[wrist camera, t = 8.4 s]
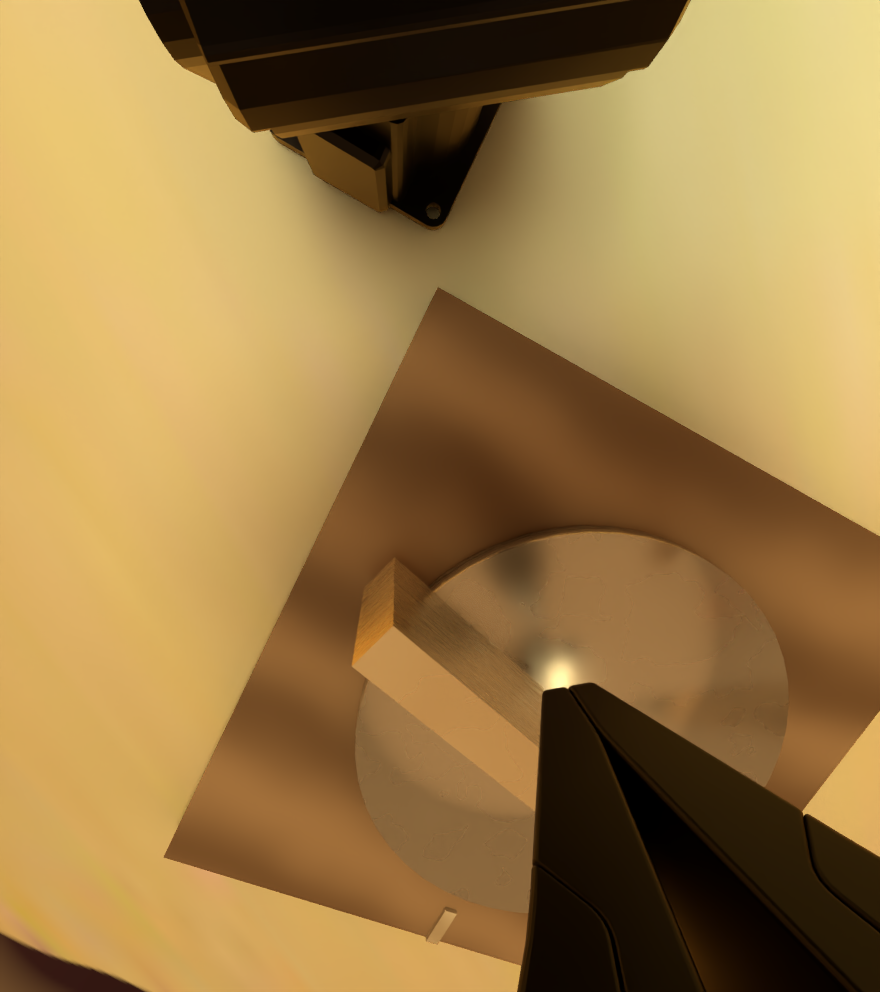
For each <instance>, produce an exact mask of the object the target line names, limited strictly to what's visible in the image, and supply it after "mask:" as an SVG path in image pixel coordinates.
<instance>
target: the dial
mask: <svg viewBox="0 0 880 992" xmlns="http://www.w3.org/2000/svg"><path fill="white" fill-rule="evenodd" d="M352 667H353V668H354V669H355V670H357V671H358V672H359V673H361V674H362V675H363V676H364V677H366V680H365V683H364V686H363V689H362V693H361V699H360V704H359V710H358V716H357V724H356V736H355V761H356V769H357V776H358V783H359V786H360V789H361V793H362V796H363V799H364V803H365V806H366V808H367V810H368V812H369V814H370V816H371V818H372V820H373V822H374V824H375V827H376V828H377V830H378V831H379V832H380V834H381V835H382V837H383V838H384V840H385V841H386V843H387V844H388V846H389V847H390V848H391V849H392V850H393V851H394V852H395V853H396V854H397V855H398V856H399V858H400V859H401V860H402V861H403V862H404V863H405V864H406V865H407V866H409V867H410V868H411V869H412V870H414V871H415V872H416V873H417V874H419V875H420V876H421V877H422V878H424V879H425V880H427V881H429V882H430V883H432V884H434V885H435V886H437V887H439V888H440V889H442V890H444V891H446V892H448V893H450V894H452V895H455V896H457V897H459V898H462V899H464V900H466V901H469V902H472V903H476V904H479V905H482V906H486V907H489V908H494V909H500V910H505V911H511V912H519V913H528V910H529V900H530V884H531V869H532V856H533V839H534V822H535V805H536V788H537V771H538V754H539V736H540V719H541V702H542V693H543V691H544V690H548V689H554V688H559V687H566V688H569V687H570V686H571V685H577V684H582V683H588V682H592V683H595V684H597V685H599V686H600V687H602V688H603V689H605V690H607V691H608V692H610V693H612V694H613V695H615V696H616V697H618V698H620V699H621V700H623V701H625V702H626V703H628V704H629V705H631V706H633V707H634V708H636V709H638V710H639V711H641V712H642V713H644V714H646V715H647V716H649V717H651V718H652V719H654V720H656V721H657V722H659V723H660V724H662V725H664V726H665V727H667V728H669V729H670V730H672V731H673V732H675V733H677V734H678V735H680V736H682V737H683V738H685V739H686V740H688V741H690V742H691V743H693V744H695V745H696V746H698V747H700V748H701V749H703V750H704V751H706V752H708V753H709V754H711V755H713V756H714V757H716V758H717V759H719V760H721V761H722V762H724V763H726V764H727V765H729V766H730V767H732V768H734V769H735V770H737V771H739V772H740V773H742V774H743V775H745V776H747V777H748V778H750V779H752V780H753V781H755V782H757V783H758V784H760V785H761V786H763V787H765V786H766V784H767V782H768V781H769V779H770V777H771V775H772V772H773V770H774V767H775V765H776V762H777V760H778V757H779V755H780V751H781V747H782V744H783V740H784V736H785V732H786V726H787V717H788V708H789V697H788V679H787V674H786V668H785V663H784V658H783V655H782V652H781V649H780V646H779V644H778V641H777V638H776V635H775V633H774V631H773V630H772V628H771V626H770V624H769V622H768V620H767V619H766V617H765V615H764V613H763V612H762V611H761V609H760V608H759V607H758V606H757V604H756V603H755V602H754V600H753V599H752V598H751V597H750V595H749V594H748V593H747V592H746V591H745V590H744V589H743V588H742V587H741V586H740V585H739V584H737V583H736V582H735V581H734V580H733V579H732V578H731V577H730V576H729V575H727V574H726V573H724V572H723V571H721V570H720V569H719V568H717V567H716V566H714V565H713V564H711V563H710V562H708V561H707V560H705V559H704V558H702V557H700V556H699V555H697V554H695V553H694V552H692V551H690V550H688V549H686V548H684V547H682V546H680V545H678V544H676V543H674V542H672V541H669V540H667V539H664V538H661V537H658V536H655V535H651V534H648V533H645V532H642V531H637V530H631V529H625V528H619V527H613V526H586V525H582V526H571V527H560V528H551V529H547V530H542V531H538V532H533V533H529V534H524V535H521V536H518V537H515V538H513V539H510V540H507V541H504V542H501V543H498V544H496V545H493V546H491V547H489V548H487V549H485V550H483V551H481V552H479V553H477V554H475V555H473V556H471V557H469V558H467V559H465V560H464V561H462V562H461V563H459V564H458V565H456V566H455V567H453V568H452V569H450V570H449V571H447V572H446V573H444V574H443V575H441V576H440V577H439V578H438V579H437V580H435V581H434V582H433V583H432V584H431V585H430V586H427V585H426V584H425V583H423V582H422V581H421V580H420V579H419V578H418V577H417V576H416V575H414V574H413V573H412V572H411V571H410V570H409V569H408V568H406V567H405V566H404V565H403V564H402V563H401V562H400V561H398V560H397V559H396V558H395V557H394V558H393V559H392V560H391V561H390V562H389V563H388V564H387V565H386V566H385V567H384V568H383V569H382V570H381V571H380V572H379V573H378V574H377V575H376V576H375V577H374V578H373V579H372V580H371V581H370V582H369V583H368V584H367V585H366V586H365V587H364V591H363V598H362V604H361V610H360V617H359V623H358V629H357V635H356V642H355V648H354V654H353V661H352Z"/></svg>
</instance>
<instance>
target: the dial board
mask: <svg viewBox="0 0 880 992" xmlns="http://www.w3.org/2000/svg"><path fill="white" fill-rule="evenodd" d="M582 525H586V526H613V527H619V528H625V529H631V530H637V531H642V532H645V533H648V534H651V535H655V536H658V537H661V538H664V539H667V540H669V541H672V542H674V543H676V544H678V545H680V546H682V547H684V548H686V549H688V550H690V551H692V552H694V553H695V554H697V555H699V556H700V557H702V558H704V559H705V560H707V561H708V562H710V563H711V564H713V565H714V566H716V567H717V568H719V569H720V570H721V571H723V572H724V573H726V574H727V575H729V576H730V577H731V578H732V579H733V580H734V581H735V582H736V583H737V584H739V585H740V586H741V587H742V588H743V589H744V590H745V591H746V592H747V593H748V594H749V595H750V597H751V598H752V599H753V600H754V602H755V603H756V604H757V606H758V607H759V608H760V609H761V611H762V612H763V613H764V615H765V617H766V619H767V620H768V622H769V624H770V626H771V628H772V630H773V631H774V633H775V635H776V638H777V641H778V644H779V646H780V649H781V652H782V655H783V658H784V663H785V668H786V674H787V679H788V697H789V708H788V717H787V726H786V732H785V736H784V740H783V744H782V747H781V751H780V755H779V757H778V760H777V762H776V765H775V767H774V770H773V772H772V775H771V777H770V779H769V781H768V782H767V784H766V786H765V788H766V789H768V790H770V791H771V792H773V793H774V794H776V795H778V796H779V797H781V798H783V799H784V800H786V801H787V802H789V803H791V804H792V805H794V806H796V807H797V808H799V809H800V810H801V811H803V809H804V808H805V807H806V805H807V804H808V803H809V802H810V800H811V799H812V798H813V796H814V795H815V794H816V792H817V791H818V790H819V789H820V787H821V786H822V785H823V783H824V782H825V781H826V780H827V778H828V777H829V776H830V774H831V773H832V772H833V770H834V769H835V768H836V767H837V765H838V764H839V763H840V761H841V760H842V759H843V758H844V756H845V755H846V754H847V752H848V751H849V750H850V748H851V747H852V746H853V745H854V743H855V742H856V741H857V739H858V738H859V737H860V735H861V734H862V733H863V732H864V730H865V729H866V728H867V726H868V725H869V724H870V723H871V721H872V720H873V719H874V717H875V716H876V715H877V713H878V712H879V711H880V537H879V536H878V535H876V534H874V533H872V532H870V531H869V530H867V529H865V528H863V527H862V526H860V525H858V524H856V523H855V522H853V521H851V520H849V519H847V518H846V517H844V516H842V515H840V514H839V513H837V512H835V511H833V510H832V509H830V508H828V507H826V506H824V505H823V504H821V503H819V502H817V501H816V500H814V499H812V498H810V497H808V496H807V495H805V494H803V493H801V492H800V491H798V490H796V489H794V488H793V487H791V486H789V485H787V484H785V483H784V482H782V481H780V480H778V479H777V478H775V477H773V476H771V475H770V474H768V473H766V472H764V471H762V470H761V469H759V468H757V467H755V466H754V465H752V464H750V463H748V462H746V461H745V460H743V459H741V458H739V457H738V456H736V455H734V454H732V453H731V452H729V451H727V450H725V449H723V448H722V447H720V446H718V445H716V444H715V443H713V442H711V441H709V440H708V439H706V438H704V437H702V436H700V435H699V434H697V433H695V432H693V431H692V430H690V429H688V428H686V427H685V426H683V425H681V424H679V423H677V422H676V421H674V420H672V419H670V418H669V417H667V416H665V415H663V414H661V413H660V412H658V411H656V410H654V409H653V408H651V407H649V406H647V405H646V404H644V403H642V402H640V401H638V400H637V399H635V398H633V397H631V396H630V395H628V394H626V393H624V392H623V391H621V390H619V389H617V388H615V387H614V386H612V385H610V384H608V383H607V382H605V381H603V380H601V379H599V378H598V377H596V376H594V375H592V374H591V373H589V372H587V371H585V370H584V369H582V368H580V367H578V366H576V365H575V364H573V363H571V362H569V361H568V360H566V359H564V358H562V357H561V356H559V355H557V354H555V353H553V352H552V351H550V350H548V349H546V348H545V347H543V346H541V345H539V344H538V343H536V342H534V341H532V340H530V339H529V338H527V337H525V336H523V335H522V334H520V333H518V332H516V331H514V330H513V329H511V328H509V327H507V326H506V325H504V324H502V323H500V322H499V321H497V320H495V319H493V318H491V317H490V316H488V315H486V314H484V313H483V312H481V311H479V310H477V309H476V308H474V307H472V306H470V305H468V304H467V303H465V302H463V301H461V300H460V299H458V298H456V297H454V296H452V295H451V294H449V293H447V292H445V291H444V290H442V289H440V288H437V290H436V292H435V294H434V296H433V298H432V300H431V303H430V305H429V307H428V309H427V311H426V313H425V315H424V317H423V319H422V321H421V323H420V325H419V327H418V330H417V332H416V334H415V336H414V338H413V340H412V342H411V344H410V346H409V348H408V350H407V352H406V354H405V357H404V359H403V361H402V363H401V365H400V367H399V369H398V371H397V373H396V375H395V377H394V379H393V381H392V384H391V386H390V388H389V390H388V392H387V394H386V396H385V398H384V400H383V402H382V404H381V406H380V408H379V411H378V413H377V415H376V417H375V419H374V421H373V423H372V425H371V427H370V429H369V431H368V433H367V436H366V438H365V440H364V442H363V444H362V446H361V448H360V450H359V452H358V454H357V456H356V458H355V460H354V463H353V465H352V467H351V469H350V471H349V473H348V475H347V477H346V479H345V481H344V483H343V485H342V487H341V490H340V492H339V494H338V496H337V498H336V500H335V502H334V504H333V506H332V508H331V510H330V512H329V514H328V517H327V519H326V521H325V523H324V525H323V527H322V529H321V531H320V533H319V535H318V537H317V539H316V541H315V544H314V546H313V548H312V550H311V552H310V554H309V556H308V558H307V560H306V562H305V564H304V566H303V568H302V571H301V573H300V575H299V577H298V579H297V581H296V583H295V585H294V587H293V589H292V591H291V593H290V596H289V598H288V600H287V602H286V604H285V606H284V608H283V610H282V612H281V614H280V616H279V618H278V620H277V623H276V625H275V627H274V629H273V631H272V633H271V635H270V637H269V639H268V641H267V643H266V645H265V647H264V650H263V652H262V654H261V656H260V658H259V660H258V662H257V664H256V666H255V668H254V670H253V672H252V674H251V677H250V679H249V681H248V683H247V685H246V687H245V689H244V691H243V693H242V695H241V697H240V699H239V701H238V704H237V706H236V708H235V710H234V712H233V714H232V716H231V718H230V720H229V722H228V724H227V726H226V728H225V731H224V733H223V735H222V737H221V739H220V741H219V743H218V745H217V747H216V749H215V751H214V753H213V756H212V758H211V760H210V762H209V764H208V766H207V768H206V770H205V772H204V774H203V776H202V778H201V780H200V783H199V785H198V787H197V789H196V791H195V793H194V795H193V797H192V799H191V801H190V803H189V805H188V807H187V810H186V812H185V814H184V816H183V818H182V820H181V822H180V824H179V826H178V828H177V830H176V832H175V834H174V837H173V839H172V841H171V843H170V845H169V847H168V849H167V851H166V853H165V855H164V858H168V859H171V860H174V861H177V862H181V863H184V864H187V865H191V866H194V867H197V868H201V869H204V870H207V871H210V872H214V873H217V874H220V875H224V876H227V877H230V878H234V879H237V880H240V881H243V882H247V883H250V884H253V885H257V886H260V887H263V888H267V889H270V890H273V891H276V892H280V893H283V894H286V895H290V896H293V897H296V898H300V899H303V900H306V901H309V902H313V903H316V904H319V905H323V906H326V907H329V908H333V909H336V910H339V911H342V912H346V913H349V914H352V915H356V916H359V917H362V918H366V919H369V920H372V921H375V922H379V923H382V924H385V925H389V926H392V927H395V928H399V929H402V930H405V931H408V932H412V933H415V934H418V935H422V936H425V937H426V941H427V942H430V943H433V944H437V945H438V943H439V941H441V942H445V943H448V944H451V945H455V946H458V947H461V948H465V949H468V950H471V951H474V952H478V953H481V954H484V955H488V956H491V957H494V958H498V959H501V960H504V961H507V962H511V963H514V964H517V965H522V959H523V953H524V947H525V941H526V931H527V921H528V913H519V912H511V911H505V910H500V909H494V908H489V907H486V906H482V905H479V904H476V903H472V902H469V901H466V900H464V899H462V898H459V897H457V896H455V895H452V894H450V893H448V892H446V891H444V890H442V889H440V888H439V887H437V886H435V885H434V884H432V883H430V882H429V881H427V880H425V879H424V878H422V877H421V876H420V875H419V874H417V873H416V872H415V871H414V870H412V869H411V868H410V867H409V866H407V865H406V864H405V863H404V862H403V861H402V860H401V859H400V858H399V856H398V855H397V854H396V853H395V852H394V851H393V850H392V849H391V848H390V847H389V846H388V844H387V843H386V841H385V840H384V838H383V837H382V835H381V834H380V832H379V831H378V830H377V828H376V827H375V824H374V822H373V820H372V818H371V816H370V814H369V812H368V810H367V808H366V806H365V803H364V799H363V796H362V793H361V789H360V786H359V783H358V776H357V769H356V761H355V736H356V724H357V716H358V710H359V704H360V699H361V693H362V689H363V686H364V683H365V680H366V677H364V676H363V675H362V674H361V673H359V672H358V671H357V670H355V669H354V668H353V667H352V661H353V654H354V648H355V642H356V635H357V629H358V623H359V617H360V610H361V604H362V598H363V591H364V587H365V586H366V585H367V584H368V583H369V582H370V581H371V580H372V579H373V578H374V577H375V576H376V575H377V574H378V573H379V572H380V571H381V570H382V569H383V568H384V567H385V566H386V565H387V564H388V563H389V562H390V561H391V560H392V559H393V558H394V557H395V558H396V559H397V560H398V561H400V562H401V563H402V564H403V565H404V566H405V567H406V568H408V569H409V570H410V571H411V572H412V573H413V574H414V575H416V576H417V577H418V578H419V579H420V580H421V581H422V582H423V583H425V584H426V585H427V586H430V585H431V584H432V583H433V582H434V581H435V580H437V579H438V578H439V577H440V576H441V575H443V574H444V573H446V572H447V571H449V570H450V569H452V568H453V567H455V566H456V565H458V564H459V563H461V562H462V561H464V560H465V559H467V558H469V557H471V556H473V555H475V554H477V553H479V552H481V551H483V550H485V549H487V548H489V547H491V546H493V545H496V544H498V543H501V542H504V541H507V540H510V539H513V538H515V537H518V536H521V535H524V534H529V533H533V532H538V531H542V530H547V529H551V528H560V527H571V526H582Z"/></svg>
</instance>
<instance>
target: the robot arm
mask: <svg viewBox="0 0 880 992" xmlns="http://www.w3.org/2000/svg"><path fill="white" fill-rule="evenodd" d="M139 1H140V3H141V5H142V7H143V9H144V11H145V13H146V15H147V17H148V19H149V21H150V22H151V24H152V26H153V28H154V29H155V31H156V33H157V34H158V36H159V38H160V40H161V41H162V43H163V44H164V46H165V47H166V49H167V50H168V51H169V53H170V54H171V56H172V57H173V58H174V60H175V61H176V62H177V63H179V64H180V65H181V66H182V67H183V68H184V69H187V70H189V71H191V72H193V73H195V74H197V75H199V76H201V77H203V78H205V79H207V80H209V81H211V82H213V83H215V84H216V85H217V87H218V89H219V91H220V93H221V95H222V97H223V99H224V101H225V102H226V104H227V106H228V107H229V109H230V111H231V112H232V114H233V116H234V117H235V119H237V120H238V121H239V122H240V123H242V124H243V125H244V126H246V127H247V128H248V129H249V130H251V131H252V132H253V133H254V132H260V131H266V130H270V131H271V133H272V135H273V137H274V138H275V139H276V140H277V141H278V142H280V143H281V144H283V145H285V146H286V147H288V148H290V149H292V150H293V151H295V152H297V153H298V154H300V155H302V156H304V157H305V158H307V160H308V163H309V165H310V167H311V170H312V172H313V174H314V175H315V176H317V177H319V178H320V179H322V180H324V181H326V182H327V183H329V184H331V185H332V186H334V187H336V188H338V189H339V190H341V191H343V192H344V193H346V194H348V195H350V196H351V197H353V198H355V199H357V200H358V201H360V202H362V203H363V204H365V205H367V206H369V207H370V208H372V209H374V210H375V211H377V212H383V211H386V210H388V208H389V207H391V208H392V209H394V210H396V211H397V212H399V213H401V214H403V215H404V216H406V217H408V218H409V219H411V220H413V221H415V222H416V223H418V224H420V225H421V226H423V227H425V228H427V229H430V230H437V229H439V228H441V227H442V226H443V224H444V223H445V222H446V219H447V217H448V215H449V213H450V211H451V209H452V207H453V205H454V203H455V200H456V198H457V196H458V194H459V192H460V190H461V188H462V186H463V183H464V181H465V179H466V177H467V175H468V173H469V171H470V169H471V167H472V164H473V162H474V160H475V158H476V156H477V154H478V152H479V150H480V147H481V145H482V143H483V141H484V139H485V137H486V135H487V133H488V131H489V128H490V126H491V124H492V122H493V120H494V118H495V116H496V114H497V111H498V109H499V107H500V105H501V103H502V102H509V101H515V100H521V99H527V98H533V97H539V96H545V95H552V94H558V93H564V92H570V91H576V90H582V89H588V88H594V87H601V86H603V85H606V84H608V83H611V82H613V81H616V80H618V79H620V78H622V77H623V76H624V75H625V74H626V73H627V72H629V71H635V70H642V69H645V68H647V67H648V66H649V65H650V64H651V62H652V61H653V59H654V58H655V57H656V55H657V54H658V53H659V51H660V50H661V49H662V47H663V46H664V45H665V43H666V42H667V40H668V39H669V37H670V36H671V34H672V33H673V31H674V30H675V28H676V27H677V25H678V24H679V22H680V21H681V19H682V17H683V15H684V13H685V11H686V9H687V7H688V5H689V3H690V1H691V0H139ZM432 206H433V207H436V208H437V209H438V210H439V212H440V216H439V217H438V218H437V219H430V218H429V217H428V216H427V213H426V210H427V209H428V208H429V207H432ZM517 992H880V857H879V856H877V855H876V854H874V853H872V852H871V851H869V850H867V849H865V848H864V847H862V846H860V845H859V844H857V843H855V842H854V841H852V840H850V839H848V838H847V837H845V836H843V835H842V834H840V833H838V832H837V831H835V830H833V829H832V828H830V827H829V826H827V825H825V824H824V823H822V822H820V821H819V820H817V819H816V818H814V817H812V816H811V815H809V814H805V815H804V817H803V812H802V811H801V810H800V809H799V808H797V807H796V806H794V805H792V804H791V803H789V802H787V801H786V800H784V799H783V798H781V797H779V796H778V795H776V794H774V793H773V792H771V791H770V790H768V789H766V788H765V787H763V786H761V785H760V784H758V783H757V782H755V781H753V780H752V779H750V778H748V777H747V776H745V775H743V774H742V773H740V772H739V771H737V770H735V769H734V768H732V767H730V766H729V765H727V764H726V763H724V762H722V761H721V760H719V759H717V758H716V757H714V756H713V755H711V754H709V753H708V752H706V751H704V750H703V749H701V748H700V747H698V746H696V745H695V744H693V743H691V742H690V741H688V740H686V739H685V738H683V737H682V736H680V735H678V734H677V733H675V732H673V731H672V730H670V729H669V728H667V727H665V726H664V725H662V724H660V723H659V722H657V721H656V720H654V719H652V718H651V717H649V716H647V715H646V714H644V713H642V712H641V711H639V710H638V709H636V708H634V707H633V706H631V705H629V704H628V703H626V702H625V701H623V700H621V699H620V698H618V697H616V696H615V695H613V694H612V693H610V692H608V691H607V690H605V689H603V688H602V687H600V686H599V685H597V684H595V683H592V682H588V683H582V684H577V685H571V686H570V687H569V688H566V687H559V688H554V689H548V690H544V691H543V693H542V702H541V719H540V736H539V754H538V771H537V788H536V805H535V822H534V839H533V856H532V869H531V884H530V900H529V910H528V921H527V931H526V941H525V947H524V953H523V959H522V965H521V972H520V978H519V984H518V990H517Z"/></svg>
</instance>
